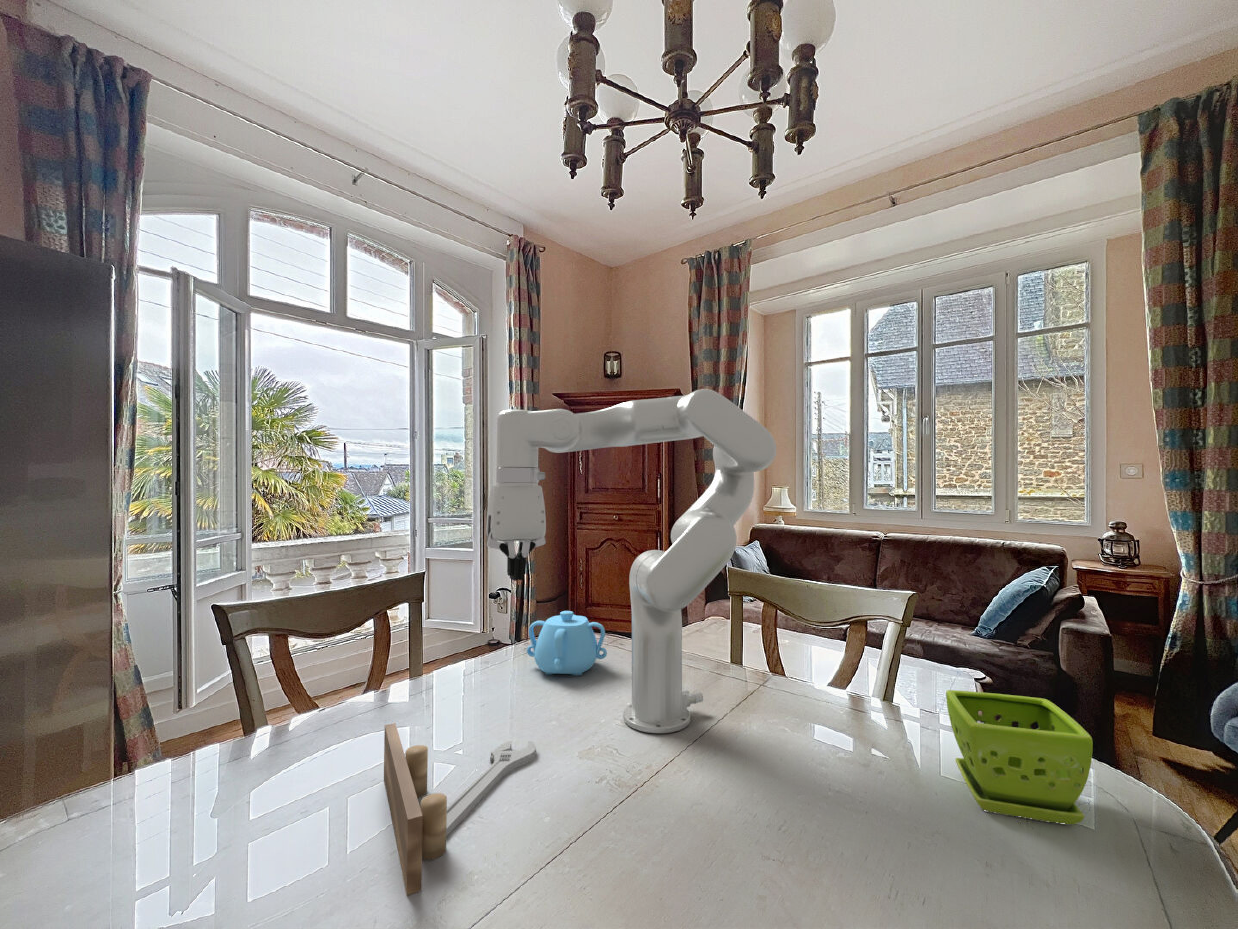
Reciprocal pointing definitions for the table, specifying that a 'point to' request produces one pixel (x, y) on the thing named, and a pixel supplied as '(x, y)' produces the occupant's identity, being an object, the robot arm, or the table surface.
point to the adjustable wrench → (488, 780)
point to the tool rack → (412, 808)
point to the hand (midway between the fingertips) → (516, 579)
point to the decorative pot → (566, 644)
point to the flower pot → (1020, 755)
